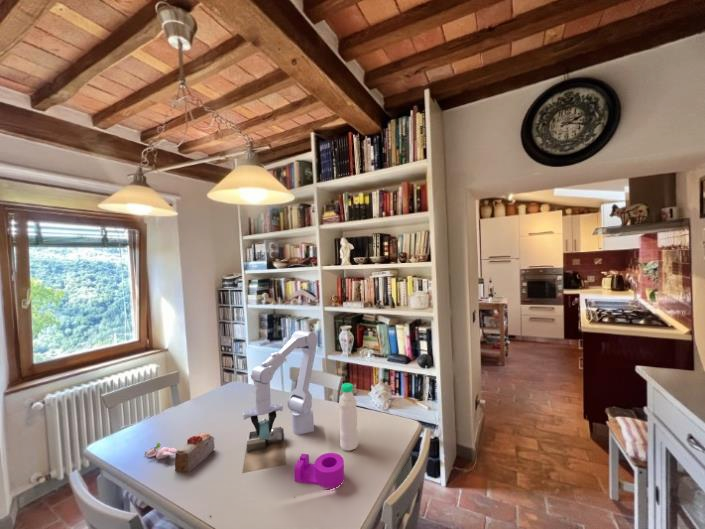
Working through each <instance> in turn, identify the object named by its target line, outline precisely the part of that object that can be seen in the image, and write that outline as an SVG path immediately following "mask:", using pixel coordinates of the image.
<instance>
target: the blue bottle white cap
mask: <svg viewBox="0 0 705 529" xmlns="http://www.w3.org/2000/svg"><path fill="white" fill-rule="evenodd" d="M258 429H259V439H261V440H264V439H267V438H268V437H269V436H270V434H269V419H266V418H262V419H261V420H258Z"/></svg>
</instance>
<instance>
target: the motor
mask: <svg viewBox="0 0 705 529" xmlns="http://www.w3.org/2000/svg"><path fill="white" fill-rule="evenodd" d="M284 433H285V432H284V427H282V426H277V427H272V432H269V434H270V436H269V437H268V438H267V439H264V440H261V439H259V436H257V434H256V429H255V430H250V431H248V432H247V437H246V438H247V439H246V446H247V452H252V451H258V450H263V449H266V445H268V444H274V443H280V442H282V440H284V438H285V434H284Z"/></svg>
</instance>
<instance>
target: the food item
mask: <svg viewBox="0 0 705 529" xmlns="http://www.w3.org/2000/svg"><path fill="white" fill-rule="evenodd" d="M215 447H216V446H215V437H214V436H213V435H211V434H210V433H208V432H199V433H198V434H196V435H194V436H191V437H189V438H188V439H187V442H186V444H184V445H183V446H181V447H180V448H179V449H177V451H176V453H174V454H175V455H174V456H175V460H174V469H175V470H174V471H175V472H180V473H190V472H191V471H193V469H195V468H196V467H197V466H198V465H199V464H200V463H202V462H203V461H204V460H206V458H208V457H209V455H210V454H211V453H212V452H214V449H215Z"/></svg>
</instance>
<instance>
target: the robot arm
mask: <svg viewBox="0 0 705 529" xmlns="http://www.w3.org/2000/svg"><path fill="white" fill-rule="evenodd" d="M318 339H319V337H318V336H317V334H316V332H313V331H306V330H300V329H297V330H295V331H294V333H292V334H291V338H290V339H288V341H287V342H285V344H284V346H283V347H282V348H281V349H280V350H279V351H278V352H271V354H270V356H269V357H268V358H267V359H266V360H265V361H263V362H262V363H261V364H260V365H257V366H256V367H254V368H253V370H252V372H251V374H250V379H251V380H252V381H253V385H254V407H255V408H253V409H249V410H247V411H244V412H243V413H242V418H243V420H244V421H245V420H247V419H249V418H250V421H251V423H252V424H253V426H254V428H255V430H256V434H257V436H259V429H258V423H259V416H265V415H268V420H269V432H272V428H273V426H274V422H275V420H276V418H277V412H282V411H284V409H283V404H282V403H278V404H271V400H272V398H271V397H272V396H271V381H273V377H274V375H275V373H276V372H277V370H278V369H279V368H280V367H281V366H282V365H283V364H284V362H285V358H287V357H288V356H289V355H290V354H291V353H292V352H294V351H295V349H297V348H300V350H301V351H302V352H303V353H302V358H301V362H300V367H299V371H298V372H299V373H298V377H297V382H296V387H295V389H293V390H291V393H290V396H289V398H288V401H287V408H288V409H289V410H290V411H289V412H290V413H291V431H292V434H294V435H297V436H298V435H299V436H300V435H301V436H302V435H305V434H307V433H312V432H315V425H314V424H315V422H314V411H313V410H312V407H313V400H312V399H313V395H312V394H311V393H310V391H309V388H310V383H311V382H310V381H311V378H312V377H311V376H312V372H313V367H314V361H315V357H316V350H317V344H318Z"/></svg>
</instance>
